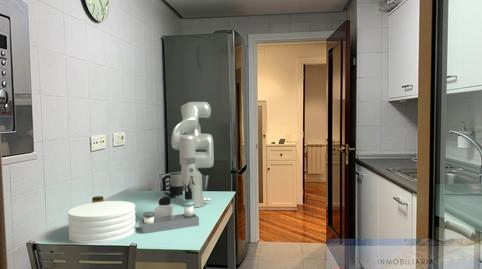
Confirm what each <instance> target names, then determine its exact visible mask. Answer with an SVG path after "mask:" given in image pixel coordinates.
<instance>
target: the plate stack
mask: <svg viewBox="0 0 482 269" xmlns="http://www.w3.org/2000/svg"><path fill="white" fill-rule="evenodd" d="M67 215H68V219H67V221H68V239H69V241H71V242H72V243H76V244H84V245H92V244H93V243H95V244H103V242H105V243H110V242H109V241H111V242H114V240H115V241H118V239H119V240H123V239H125V238H127V236H128V237H130V236H131V235H133V234H134V233H135V232H136V230H137V227H136V225H137V222H136V204H135V203H134V202H130V201H125V200H107V201H106V200H105V201H104V200H103V202H95V203H92V202H88V203H85V204H81V205H78V206H77V205H76V206H74V207H72V208H70V209H69V210H68V211H67ZM89 243H90V244H89ZM93 245H94V244H93Z"/></svg>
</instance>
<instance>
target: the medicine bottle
mask: <svg viewBox="0 0 482 269" xmlns="http://www.w3.org/2000/svg"><path fill="white" fill-rule="evenodd" d="M171 200H172V199H171V197H169V196H161V197H159V198H158V199H157V204H158V206H157V207H155V208H154V213H155V216H154V218H157V217H164V216H172V215H175V206H174V205H171V202H172V201H171Z"/></svg>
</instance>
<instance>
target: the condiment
mask: <svg viewBox="0 0 482 269" xmlns="http://www.w3.org/2000/svg"><path fill="white" fill-rule="evenodd" d="M91 200H92V202H91V203H95V202H103V201H104V196H100V195H98V196H97V195H96V196H93V197H92V198H91Z"/></svg>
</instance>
